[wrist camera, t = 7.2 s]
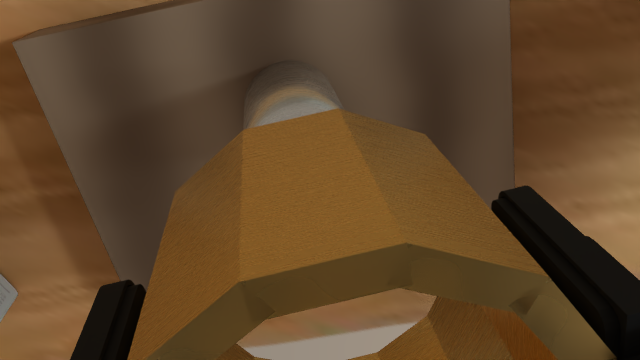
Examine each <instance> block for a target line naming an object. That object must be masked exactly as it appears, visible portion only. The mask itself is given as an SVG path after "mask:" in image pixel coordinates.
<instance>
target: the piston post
mask: <svg viewBox="0 0 640 360" xmlns="http://www.w3.org/2000/svg"><path fill="white" fill-rule="evenodd" d="M337 108H339V109H343V110H344V108H343V106H342V104H341V102H340V101H339V99H338V97H337V95H336V93H335V91H334V89H333V88H332V86H331V84H330V82H329V81H328V79H327V78H326V77H325V75H324V74H323V73H322V72H321V71H319V70H318V69H317V68H315V67H313V66H311V65H309V64H307V63H304V62H300V61H281V62H277V63H274V64H272V65H269V66H267V67H266V68H264V69H263V70H261V71H260V72H259V73H258V74H257V75H256V76H255V77H254V78H253V80H252V81H251V83H250V85H249V86H248V89H247V91H246V95H245V100H244V128H243V130H244V129H249V128H253V127H257V126H262V125H266V124H271V123H275V122H279V121H284V120H288V119H293V118H297V117H301V116H306V115H310V114H315V113H319V112H324V111H328V110H332V109H337Z"/></svg>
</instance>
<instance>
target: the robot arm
mask: <svg viewBox="0 0 640 360" xmlns="http://www.w3.org/2000/svg"><path fill="white" fill-rule="evenodd" d="M491 210H492V212H493V213H494V214H495V215H496V216H497V217H498V218H499V220H500V221H501V222H502V223H503V224H504V225H505V226H506V228H507V229H508V230H509V231H510V232H511V233H512V235H513V236H514V237H515V238H516V239H517V240H518V241H519V243H520V244H521V245H522V246H523V247H524V248H525V249H526V251H527V252H528V253H529V254H530V255H531V256H532V257H533V259H534V260H535V261H536V262H537V263H538V264H539V265H540V267H541V268H542V269H543V270H544V271H545V272H546V274H547V275H548V276H549V277H550V279H551V280H552V281H553V282H554V283H555V285H556V286H557V287H558V288H559V289H560V291H561V292H562V293H563V294H564V295H565V297H566V298H567V299H568V300H569V301H570V303H571V304H572V305H573V306H574V307H575V309H576V310H577V311H578V312H579V313H580V315H581V316H582V317H583V318H584V319H585V321H586V322H587V323H588V324H589V325H590V327H591V328H592V329H593V330H594V331H595V333H596V334H597V335H598V336H599V337H600V339H601V340H602V341H603V342H604V343H605V345H606V346H607V347H608V348H609V349H610V351H611V352H612V353H613V354H614V355H615V356H616V357H617V359H616V360H640V280H638V279H637V278H636V277H635V276H634V275H633V274H632V273H631V272H629V271H628V270H627V269H626V268H625V267H624V266H623V265H622V264H620V263H619V262H618V261H617V260H616V259H615V258H614V257H612V256H611V255H610V254H609V253H608V252H607V251H606V250H605V249H603V248H602V247H601V246H600V245H599V244H598V243H597V242H596V241H594V240H593V239H591V238H590V237H588V236H584V235H583V234H582V233H581V232H580V231H579V230H578V229H577V228H575V227H574V226H573V225H572V224H571V223H570V222H569V221H568V220H567V219H565V218H564V217H563V216H562V215H561V214H560V213H559V212H558V211H556V210H555V209H554V208H553V207H552V206H551V205H550V204H549V203H548V202H546V201H545V200H544V199H543V198H542V197H541V196H540V195H539V194H537V193H536V192H535V191H534V190H533V189H532V188H531V187H529V186H522V187H518V188H513V189H509V190H505V191H501V192H500V193H499V196H498V199H496V200H493V201H492V204H491ZM146 293H147V292H146V290H145V288H144V286H143V285H142V284H137V285H135V284H134V283H133V282H132V281H131V280H129V279H128V280H124V281H120V282H116V283H112V284H107V285H103V286H101V287H100V289H99V291H98V293H97V296H96V298H95V301H94V303H93V305H92V308H91V310H90V313H89V315H88V318H87V320H86V322H85V325H84V327H83V330H82V332H81V335H80V337H79V339H78V342H77V344H76V347H75V349H74V352H73V354H72V356H71V359H70V360H127V359H128V356H129V352H130V349H131V345H132V342H133V338H134V335H135V331H136V328H137V324H138V321H139V317H140V314H141V310H142V307H143V303H144V300H145V296H146Z"/></svg>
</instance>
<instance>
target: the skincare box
mask: <svg viewBox="0 0 640 360" xmlns="http://www.w3.org/2000/svg"><path fill="white" fill-rule="evenodd" d="M17 296H18V292H17V291H16V289H15V288H14V287H13V286H12V285H11V284H10V283H9V282H8V281H7V280H6V279H5V278H4V277H3V276H2V275H1V274H0V322H1V320H2V319H3V317H4V316H5V314H6V313H7V311H8V310H9V308H10V306H11V305H12V303H13V302H14V300H15V299H16V297H17Z"/></svg>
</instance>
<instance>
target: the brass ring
mask: <svg viewBox="0 0 640 360" xmlns="http://www.w3.org/2000/svg"><path fill="white" fill-rule="evenodd" d="M396 288H402V289H407V290H411V291H416V292H421V293H425V294H430V295H435V296H437V298H436V300H435V302H434V304H433V305H432V307H431V309H430V311H429V313H428V315H427V316H426V317H425V318H423V319H422V320H421V321H419V322H418V323H417V324H415V325H414V326H413V327H411V328H410V329H409V330H407V331H406V332H404V333H403V334H402V335H400V336H399V337H398V338H396V339H395V340H394V341H392V342H391V343H389V344H388V345H387V346H385V347H384V348H383V349H381V350H380V351H379V352H377V353H373V354H369V355H365V356H360V357H356V358H352V359H348V360H616V359H617V357H616V356H615V355H614V354H613V353H612V352H611V351H610V349H609V348H608V347H607V346H606V345H605V343H604V342H603V341H602V340H601V339H600V337H599V336H598V335H597V334H596V333H595V331H594V330H593V329H592V328H591V327H590V325H589V324H588V323H587V322H586V321H585V319H584V318H583V317H582V316H581V315H580V313H579V312H578V311H577V310H576V309H575V307H574V306H573V305H572V304H571V303H570V301H569V300H568V299H567V298H566V297H565V295H564V294H563V293H562V292H561V291H560V289H559V288H558V287H557V286H556V285H555V283H554V282H553V281H552V280H551V279H550V277H549V276H548V275H547V274H546V272H545V271H544V270H543V269H542V268H541V267H540V265H539V264H538V263H537V262H536V261H535V260H534V259H533V257H532V256H531V255H530V254H529V253H528V252H527V251H526V249H525V248H524V247H523V246H522V245H521V244H520V243H519V241H518V240H517V239H516V238H515V237H514V236H513V235H512V233H511V232H510V231H509V230H508V229H507V228H506V226H505V225H504V224H503V223H502V222H501V221H500V220H499V218H498V217H497V216H496V215H495V214H494V213H493V212H492V210H491V209H490V208H489V207H488V206H487V205H486V204H485V202H484V201H483V200H482V199H481V198H480V197H479V195H478V194H477V193H476V192H475V191H474V190H473V189H472V187H471V186H470V185H469V184H468V183H467V182H466V181H465V179H464V178H463V177H462V176H461V175H460V174H459V173H458V171H457V170H456V169H455V168H454V167H453V166H452V165H451V163H450V162H449V161H448V160H447V159H446V158H445V156H444V155H443V154H442V153H441V152H440V151H439V150H438V148H437V147H436V146H435V145H434V144H433V143H432V142H431V140H430V139H429V138H428V137H427V136H426V135H425V134H423V133H420V132H417V131H413V130H410V129H406V128H403V127H400V126H396V125H393V124H390V123H386V122H383V121H380V120H376V119H373V118H370V117H366V116H363V115H360V114H356V113H353V112H349V111H346V110H343V109H339V108H337V109H332V110H328V111H324V112H319V113H315V114H310V115H306V116H301V117H297V118H293V119H288V120H284V121H279V122H275V123H271V124H266V125H262V126H257V127H253V128H249V129H244V130H242V131H241V132H240V133H239V134H238V135H237V136H236V137H235V138H234V139H232V140H231V141H230V142H229V143H228V144H227V145H226V146H225V147H224V148H223V149H221V150H220V151H219V152H218V153H217V154H216V155H215V156H214V157H213V158H211V159H210V160H209V161H208V162H207V163H206V164H205V165H204V166H203V167H202V168H200V169H199V170H198V171H197V172H196V173H195V174H194V175H193V176H192V177H191V178H189V179H188V180H187V181H186V182H185V183H184V184H183V185H182V186H181V187H179V188H178V189H177V190H176V191H175V194H174V198H173V201H172V205H171V208H170V212H169V215H168V219H167V222H166V226H165V229H164V233H163V236H162V240H161V243H160V247H159V250H158V254H157V258H156V261H155V265H154V268H153V272H152V275H151V279H150V282H149V286H148V289H147V293H146V296H145V300H144V303H143V307H142V310H141V314H140V317H139V321H138V324H137V328H136V331H135V335H134V338H133V342H132V345H131V349H130V352H129V356H128V359H127V360H270V359H263V358H257V357H254V356H252V355H251V354H250V353H248V352H247V351H246V350H244V349H243V348H241V347H240V346H239V345H237V344H236V343H237V342H238V341H239V340H240V339H242V338H243V337H244V336H245V335H247V334H248V333H249V332H250V331H252V330H253V329H254V328H255V327H257V326H258V325H259V324H260V323H262V322H263V321H264V320H266V319H270V318H274V317H278V316H282V315H287V314H291V313H295V312H299V311H304V310H308V309H312V308H316V307H320V306H325V305H329V304H333V303H337V302H342V301H346V300H350V299H354V298H358V297H363V296H367V295H371V294H375V293H380V292H384V291H388V290H392V289H396Z"/></svg>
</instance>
